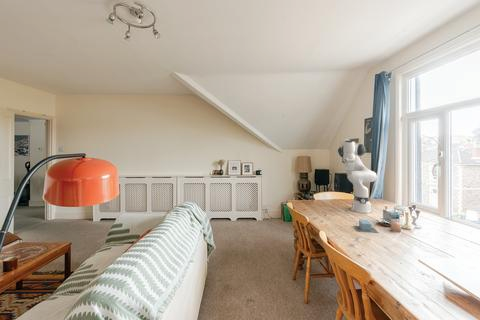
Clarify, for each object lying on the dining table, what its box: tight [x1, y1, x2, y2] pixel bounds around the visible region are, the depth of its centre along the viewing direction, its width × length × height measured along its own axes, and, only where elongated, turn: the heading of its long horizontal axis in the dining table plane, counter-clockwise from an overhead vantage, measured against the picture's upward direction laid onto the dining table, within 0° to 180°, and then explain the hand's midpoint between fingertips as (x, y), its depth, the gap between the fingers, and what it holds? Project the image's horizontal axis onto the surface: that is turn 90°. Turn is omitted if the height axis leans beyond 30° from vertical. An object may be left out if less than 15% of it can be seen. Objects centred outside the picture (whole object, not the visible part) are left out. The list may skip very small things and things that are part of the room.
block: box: [358, 219, 372, 231], centre depth 161 cm, size 5×6×10 cm
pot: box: [390, 221, 402, 233], centre depth 157 cm, size 6×6×6 cm
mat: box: [353, 225, 379, 234], centre depth 160 cm, size 11×14×1 cm
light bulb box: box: [382, 208, 401, 224], centre depth 171 cm, size 11×7×11 cm, turn 179°
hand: (348, 175), depth 183 cm, fingers open, 8 cm apart
